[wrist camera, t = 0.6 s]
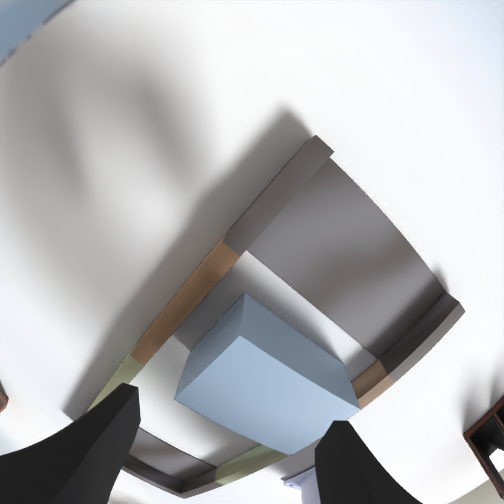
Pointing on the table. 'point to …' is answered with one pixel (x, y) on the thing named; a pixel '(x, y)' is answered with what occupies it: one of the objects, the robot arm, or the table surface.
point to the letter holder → (488, 442)
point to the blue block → (266, 380)
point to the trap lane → (313, 290)
